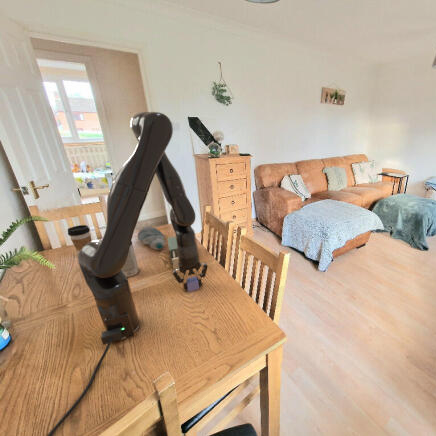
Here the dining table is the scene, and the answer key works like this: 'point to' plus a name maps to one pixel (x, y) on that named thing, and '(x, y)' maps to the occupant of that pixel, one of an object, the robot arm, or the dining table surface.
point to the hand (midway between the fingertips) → (193, 286)
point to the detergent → (152, 237)
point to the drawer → (175, 260)
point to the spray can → (130, 263)
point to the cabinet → (172, 246)
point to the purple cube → (192, 283)
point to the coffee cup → (80, 236)
